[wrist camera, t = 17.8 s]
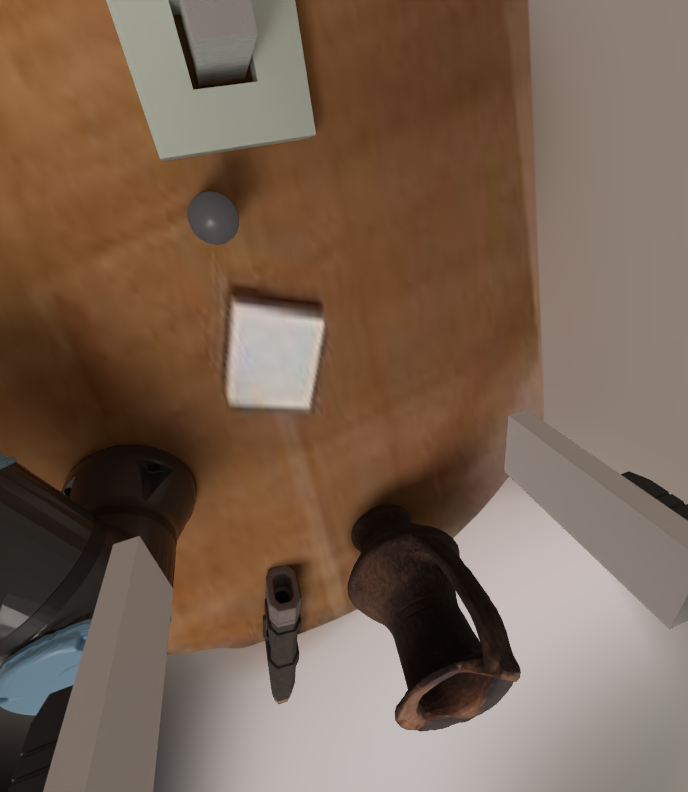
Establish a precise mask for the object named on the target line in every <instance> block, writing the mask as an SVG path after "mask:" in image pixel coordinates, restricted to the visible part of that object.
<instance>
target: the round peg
mask: <svg viewBox="0 0 688 792" xmlns="http://www.w3.org/2000/svg"><path fill="white" fill-rule="evenodd" d="M188 220H189V224H190V226H191V228H192V230H193V232H194V233H195V234H196V235H197V236H198V237H199V238H200V239H201V240H203V241H205V242H207V243H210V244H215V245H219V244H224V243H226V242H228V241H230V240H231V239H232V238H233V237H234V236H235V234H236V232H237V230H238V226H239V217H238V213H237V210H236V208H235V206H234V205H233V203H232V202H231V201H230V200H229V199H228V198H227V197H225V196H224V195H222V194H220V193H217V192H212V191H208V192H203V193H200V194H199V195H197V196H196V197H195V198H194V199H193V200H192V201H191V203H190V205H189V209H188Z"/></svg>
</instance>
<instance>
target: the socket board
mask: <svg viewBox="0 0 688 792" xmlns="http://www.w3.org/2000/svg"><path fill="white" fill-rule="evenodd" d="M106 1H107V4H108V7H109V10H110V13H111V16H112V19H113V22H114V25H115V28H116V31H117V34H118V37H119V40H120V42H121V45H122V48H123V51H124V54H125V57H126V60H127V63H128V66H129V69H130V72H131V75H132V78H133V81H134V84H135V87H136V90H137V93H138V96H139V99H140V102H141V105H142V107H143V110H144V113H145V116H146V119H147V122H148V125H149V128H150V131H151V134H152V137H153V140H154V143H155V146H156V149H157V152H158V155H159V158H160V159H161V160H162V161H170V160H176V159H183V158H189V157H195V156H202V155H208V154H214V153H221V152H227V151H233V150H240V149H246V148H253V147H259V146H265V145H272V144H278V143H284V142H291V141H297V140H303V139H309V138H311V137H313V136H315V135H316V131H315V125H314V118H313V112H312V106H311V99H310V93H309V86H308V80H307V73H306V67H305V61H304V54H303V48H302V41H301V35H300V29H299V22H298V16H297V9H296V3H295V0H251V3H252V8H253V13H254V18H255V23H256V28H257V33H258V34H257V38H256V41H255V45H254V48H253V52H252V55H251V59H250V62H249V65H250V70H251V75H252V79H253V82H250V83H242V84H234V85H226V86H218V87H210V88H202V89H194V90H193V87H192V83H191V80H190V76H189V72H188V69H187V65H186V62H185V58H184V55H183V51H182V47H181V44H180V40H179V37H178V33H177V29H176V26H175V22H174V19H173V15H178V14H181V12H180V7H179V1H178V0H106Z"/></svg>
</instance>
